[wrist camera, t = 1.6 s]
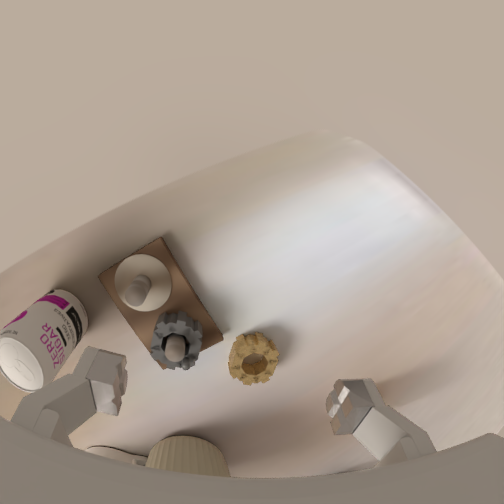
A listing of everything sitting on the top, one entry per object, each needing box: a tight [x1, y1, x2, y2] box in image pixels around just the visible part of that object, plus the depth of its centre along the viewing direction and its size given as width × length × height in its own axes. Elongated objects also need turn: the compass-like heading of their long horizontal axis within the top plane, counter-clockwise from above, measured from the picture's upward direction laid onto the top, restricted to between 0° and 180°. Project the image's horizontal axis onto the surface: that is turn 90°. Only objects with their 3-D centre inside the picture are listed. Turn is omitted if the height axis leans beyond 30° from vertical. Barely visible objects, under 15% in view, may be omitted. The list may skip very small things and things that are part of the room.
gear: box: [150, 311, 203, 370], centre depth 37 cm, size 7×7×5 cm
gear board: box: [98, 237, 223, 370], centre depth 36 cm, size 16×10×6 cm, turn 27°
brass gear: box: [228, 332, 279, 385], centre depth 41 cm, size 7×7×3 cm
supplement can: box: [0, 289, 88, 393], centre depth 30 cm, size 8×8×15 cm
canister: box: [145, 435, 231, 477], centre depth 35 cm, size 18×18×21 cm
